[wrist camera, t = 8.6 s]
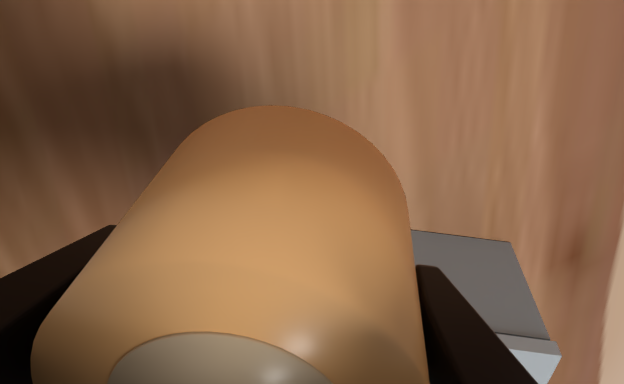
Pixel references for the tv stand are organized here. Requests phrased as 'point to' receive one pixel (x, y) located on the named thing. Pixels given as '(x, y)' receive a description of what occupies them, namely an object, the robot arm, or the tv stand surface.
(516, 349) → the box lid
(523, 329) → the box
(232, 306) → the tan cylinder grey end
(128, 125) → the tv stand surface
